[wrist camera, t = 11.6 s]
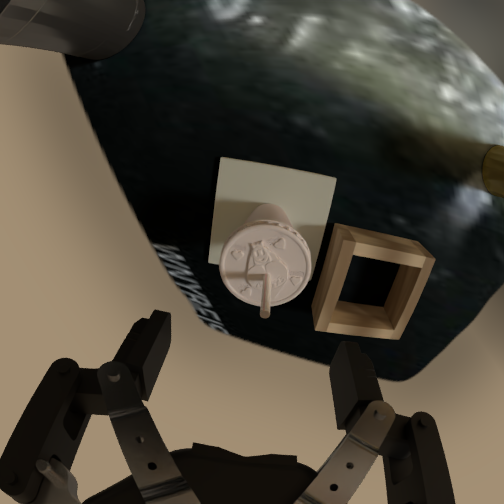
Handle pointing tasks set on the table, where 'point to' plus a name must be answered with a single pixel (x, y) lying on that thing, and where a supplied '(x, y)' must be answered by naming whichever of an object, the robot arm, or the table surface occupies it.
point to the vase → (494, 171)
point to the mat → (270, 201)
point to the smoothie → (265, 260)
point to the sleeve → (400, 296)
